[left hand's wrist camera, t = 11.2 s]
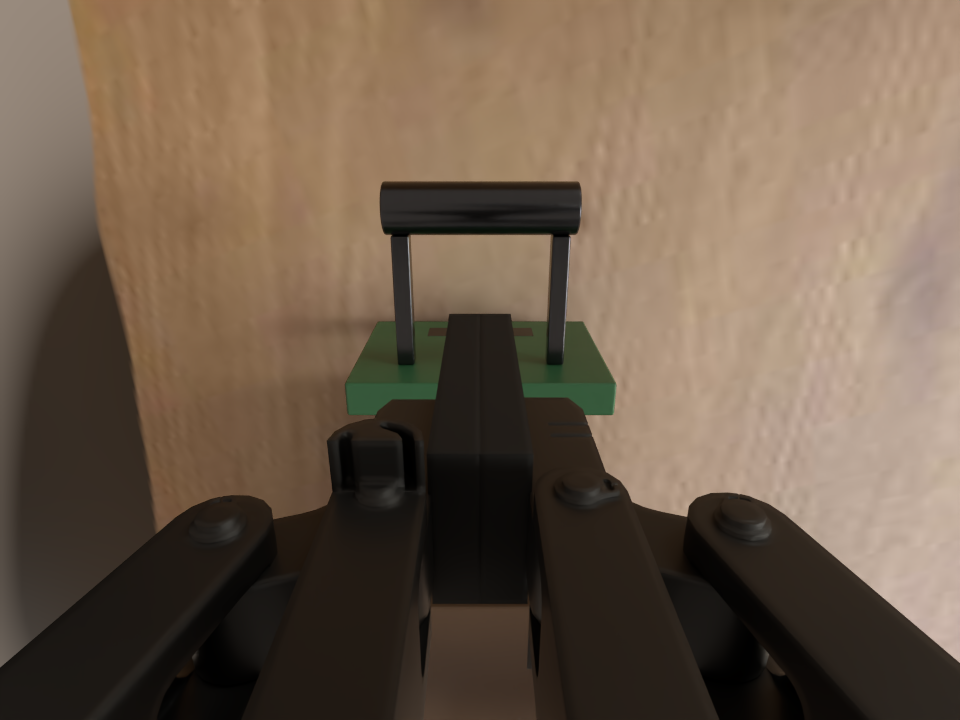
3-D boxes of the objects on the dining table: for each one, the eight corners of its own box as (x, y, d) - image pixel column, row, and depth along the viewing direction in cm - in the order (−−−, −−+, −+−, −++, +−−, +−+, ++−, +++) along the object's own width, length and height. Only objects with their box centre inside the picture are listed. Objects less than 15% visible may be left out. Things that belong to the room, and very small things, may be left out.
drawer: (367, 171, 23) (325, 187, 17) (593, 171, 23) (636, 186, 17) (400, 658, 33) (382, 782, 26) (560, 658, 33) (578, 782, 26)
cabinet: (380, 476, 29) (342, 608, 21) (580, 476, 29) (619, 608, 21) (401, 758, 37) (379, 932, 29) (559, 758, 37) (581, 932, 29)
